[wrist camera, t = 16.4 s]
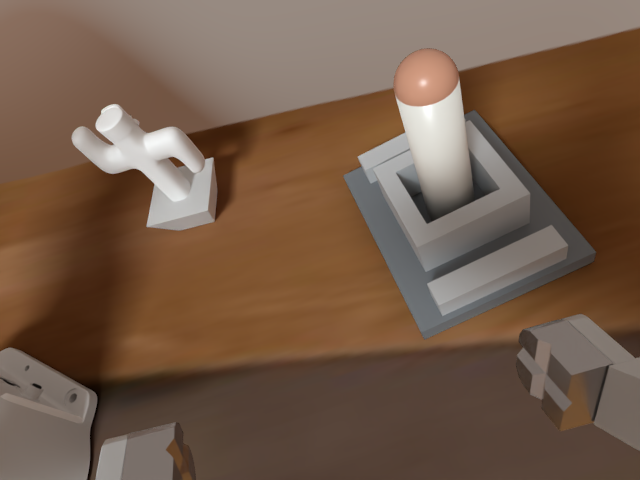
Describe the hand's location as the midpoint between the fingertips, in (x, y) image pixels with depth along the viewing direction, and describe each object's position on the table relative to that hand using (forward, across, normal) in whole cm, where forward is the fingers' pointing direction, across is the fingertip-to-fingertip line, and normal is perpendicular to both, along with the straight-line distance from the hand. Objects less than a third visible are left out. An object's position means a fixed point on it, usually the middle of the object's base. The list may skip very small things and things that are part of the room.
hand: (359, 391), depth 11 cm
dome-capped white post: (+26, -15, +11) cm, 32 cm away
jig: (+27, -16, +13) cm, 34 cm away
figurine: (+43, +7, +15) cm, 46 cm away
